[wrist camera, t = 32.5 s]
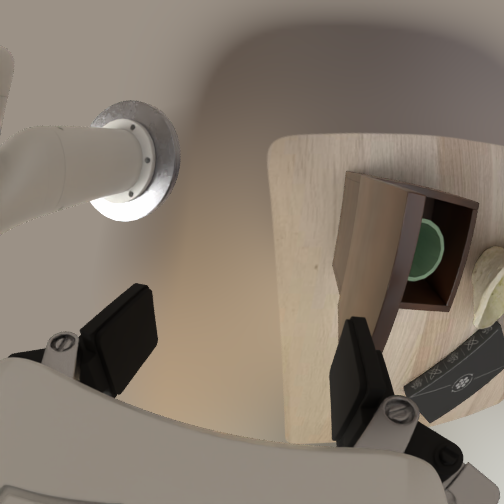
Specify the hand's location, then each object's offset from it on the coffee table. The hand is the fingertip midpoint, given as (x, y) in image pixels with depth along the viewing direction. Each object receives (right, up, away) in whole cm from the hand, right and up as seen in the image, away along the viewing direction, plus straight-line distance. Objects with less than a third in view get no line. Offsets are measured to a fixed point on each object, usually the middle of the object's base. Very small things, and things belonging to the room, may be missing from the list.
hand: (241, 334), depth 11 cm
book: (+41, -20, +27) cm, 53 cm away
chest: (+18, +7, +22) cm, 29 cm away
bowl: (+38, 0, +21) cm, 43 cm away
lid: (+8, +2, +6) cm, 11 cm away
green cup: (+19, +6, +21) cm, 29 cm away
